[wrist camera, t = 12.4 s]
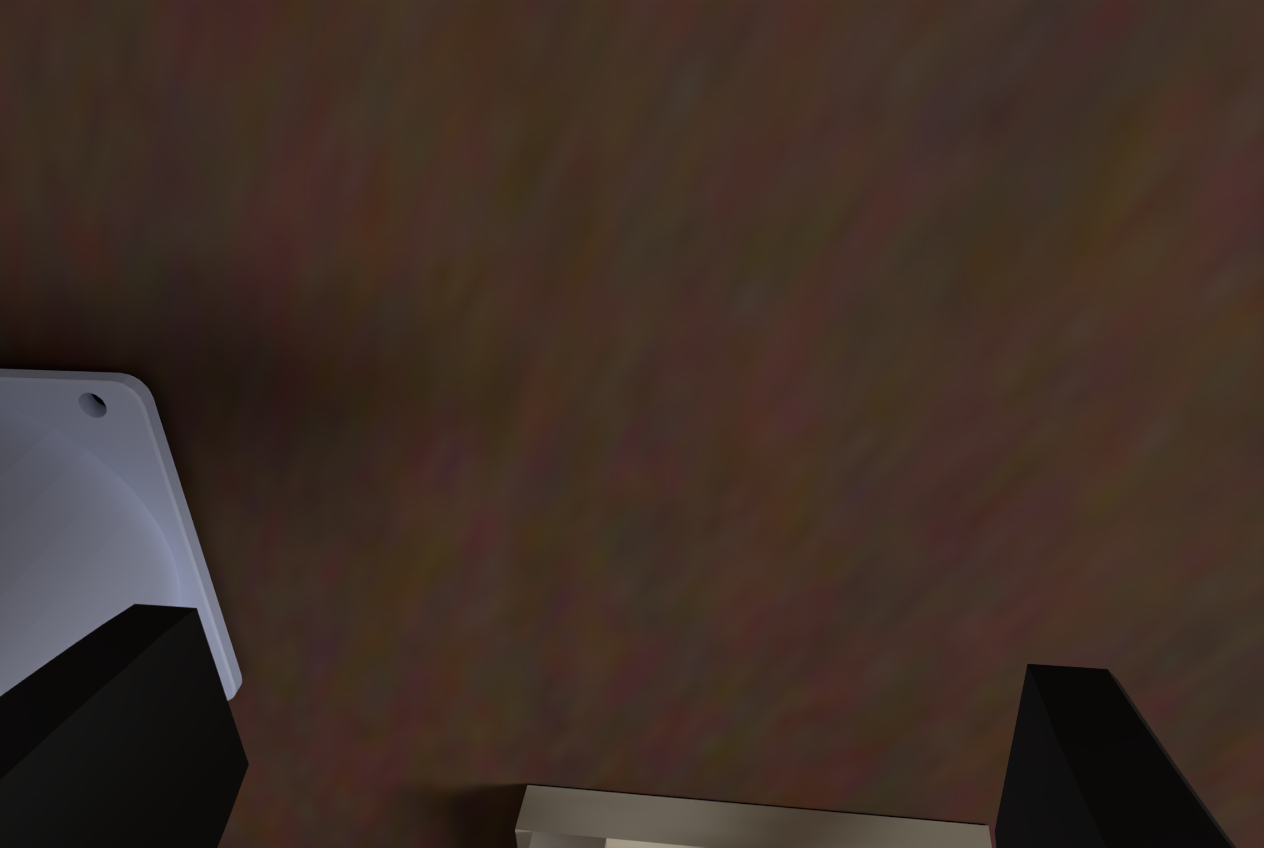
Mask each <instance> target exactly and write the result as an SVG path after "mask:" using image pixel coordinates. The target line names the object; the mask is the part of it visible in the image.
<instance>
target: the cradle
mask: <svg viewBox="0 0 1264 848" xmlns="http://www.w3.org/2000/svg"><path fill="white" fill-rule="evenodd" d="M515 833H516V839H517V846H518V848H992V846H991V840H990V833H989V827H988V826H985V825H974V824H962V823H951V822H940V821H929V820H917V819H906V818H895V817H883V816H872V815H861V814H850V813H838V812H827V811H816V810H804V809H793V808H782V807H771V806H759V805H748V804H737V803H725V802H714V801H703V800H691V799H680V798H669V797H658V796H646V795H635V794H624V793H612V792H601V791H590V790H579V789H567V788H556V787H545V786H533V785H527V789H526V792H525V796H524V799H523V803H522V806H521V810H520V814H519V817H518V821H517V824H516V828H515Z"/></svg>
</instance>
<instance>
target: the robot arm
mask: <svg viewBox="0 0 1264 848" xmlns="http://www.w3.org/2000/svg"><path fill="white" fill-rule="evenodd" d="M92 394H95V395H97V396H98V397H99V398H101V399H102V400H103V402H104V403H105V405H106V406H104V405H101V404H100V403H98V402H97V401H96V400H95V399H94V398H93V396H92ZM241 684H242V676H241V673H240V670H239V666H238V663H237V660H236V657H235V654H234V651H233V647H232V644H231V641H230V638H229V635H228V632H227V629H226V625H225V622H224V619H223V616H222V613H221V610H220V606H219V603H218V600H217V597H216V594H215V591H214V588H213V584H212V581H211V578H210V575H209V572H208V569H207V565H206V562H205V559H204V556H203V553H202V550H201V547H200V543H199V540H198V537H197V534H196V531H195V528H194V524H193V521H192V518H191V515H190V512H189V509H188V506H187V502H186V499H185V496H184V493H183V490H182V487H181V483H180V480H179V477H178V474H177V471H176V468H175V465H174V461H173V458H172V455H171V452H170V449H169V446H168V442H167V439H166V436H165V433H164V430H163V427H162V424H161V420H160V417H159V414H158V411H157V408H156V405H155V401H154V398H153V396H152V394H151V392H150V390H149V389H148V388H147V387H146V386H145V385H144V384H143V383H142V382H141V381H140V380H139V379H137V378H135V377H133V376H131V375H128V374H123V373H109V372H79V371H50V370H21V369H0V848H217V847H218V844H219V842H220V839H221V837H222V834H223V832H224V830H225V827H226V825H227V822H228V819H229V817H230V814H231V811H232V809H233V806H234V803H235V800H236V798H237V795H238V792H239V790H240V787H241V784H242V781H243V779H244V776H245V773H246V770H247V768H248V765H249V764H248V761H247V758H246V755H245V752H244V749H243V746H242V743H241V740H240V737H239V734H238V731H237V728H236V725H235V722H234V719H233V716H232V713H231V710H230V707H229V704H228V700H230V699H232V698H233V697H234V695H235V694H236V692H237V691H238V689H239V687H240V685H241ZM995 838H996V848H1236V847H1235V846H1234V844H1233V843H1232V842H1231V840H1230V839H1229V838H1228V836H1227V835H1226V834H1225V832H1224V831H1223V830H1222V828H1221V827H1220V826H1219V824H1218V823H1217V822H1216V820H1215V819H1214V817H1213V816H1212V815H1211V813H1210V812H1209V810H1208V809H1207V808H1206V806H1205V805H1204V804H1203V802H1202V801H1201V799H1200V798H1199V797H1198V795H1197V794H1196V792H1195V791H1194V790H1193V788H1192V787H1191V785H1190V784H1189V783H1188V781H1187V780H1186V778H1185V777H1184V776H1183V774H1182V773H1181V771H1180V770H1179V769H1178V767H1177V766H1176V764H1175V763H1174V761H1173V760H1172V759H1171V757H1170V756H1169V754H1168V753H1167V751H1166V750H1165V749H1164V747H1163V746H1162V744H1161V743H1160V741H1159V740H1158V738H1157V737H1156V736H1155V734H1154V733H1153V731H1152V730H1151V728H1150V727H1149V725H1148V724H1147V722H1146V721H1145V719H1144V718H1143V716H1142V715H1141V714H1140V712H1139V711H1138V709H1137V708H1136V706H1135V705H1134V703H1133V702H1132V700H1131V699H1130V697H1129V696H1128V694H1127V693H1126V691H1125V690H1124V688H1123V687H1122V685H1121V684H1120V682H1119V681H1118V680H1117V679H1116V678H1115V677H1114V676H1113V675H1112V674H1111V673H1110V671H1109V670H1108V669H1096V668H1081V667H1067V666H1052V665H1037V664H1028V665H1027V670H1026V675H1025V680H1024V685H1023V690H1022V695H1021V700H1020V706H1019V711H1018V716H1017V721H1016V726H1015V731H1014V736H1013V741H1012V746H1011V751H1010V756H1009V762H1008V767H1007V772H1006V777H1005V782H1004V787H1003V792H1002V797H1001V802H1000V807H999V812H998V817H997V823H996V828H995Z"/></svg>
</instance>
